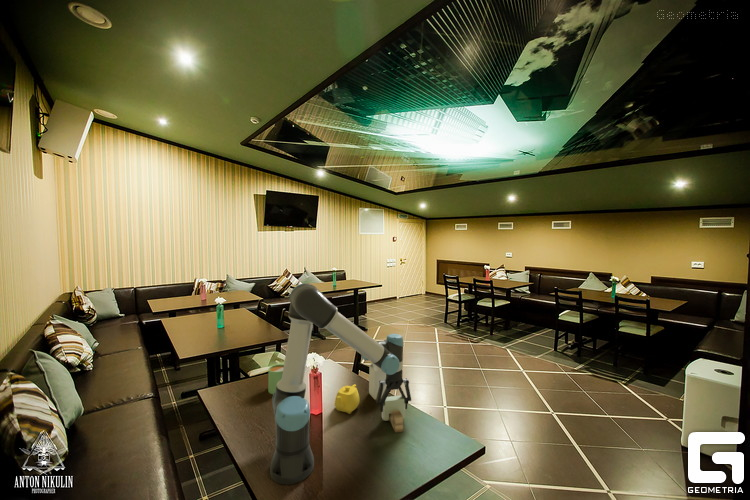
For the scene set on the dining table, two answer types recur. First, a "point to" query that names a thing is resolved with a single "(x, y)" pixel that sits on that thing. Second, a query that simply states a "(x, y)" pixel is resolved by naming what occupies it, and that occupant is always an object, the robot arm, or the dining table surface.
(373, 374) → the milk carton
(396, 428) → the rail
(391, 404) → the block
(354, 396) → the teapot
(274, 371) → the mug
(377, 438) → the dining table surface
